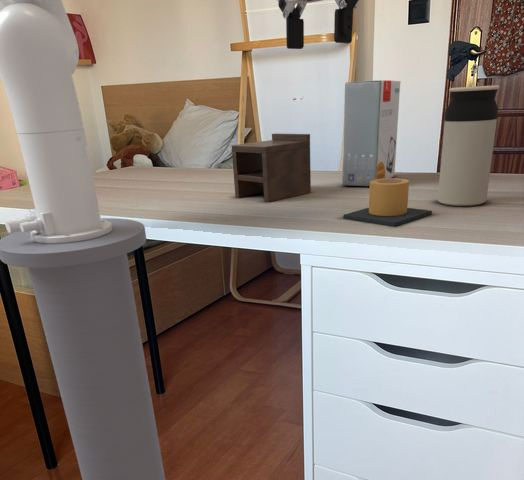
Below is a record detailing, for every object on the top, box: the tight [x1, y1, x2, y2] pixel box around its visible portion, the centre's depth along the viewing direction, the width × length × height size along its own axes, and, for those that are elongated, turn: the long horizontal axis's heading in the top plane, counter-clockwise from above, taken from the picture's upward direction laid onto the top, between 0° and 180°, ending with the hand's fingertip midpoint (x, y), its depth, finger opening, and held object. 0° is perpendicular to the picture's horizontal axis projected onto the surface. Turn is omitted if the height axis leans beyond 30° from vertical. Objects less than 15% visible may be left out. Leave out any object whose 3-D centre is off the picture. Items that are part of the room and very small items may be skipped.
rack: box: [231, 132, 312, 203], centre depth 106 cm, size 12×10×11 cm
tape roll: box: [368, 177, 410, 216], centre depth 83 cm, size 6×6×5 cm
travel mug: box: [437, 84, 500, 207], centre depth 88 cm, size 8×8×18 cm
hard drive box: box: [341, 79, 401, 187], centre depth 113 cm, size 16×8×20 cm, turn 153°
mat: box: [342, 207, 433, 227], centre depth 85 cm, size 10×10×1 cm
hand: (318, 45), depth 79 cm, fingers open, 9 cm apart
